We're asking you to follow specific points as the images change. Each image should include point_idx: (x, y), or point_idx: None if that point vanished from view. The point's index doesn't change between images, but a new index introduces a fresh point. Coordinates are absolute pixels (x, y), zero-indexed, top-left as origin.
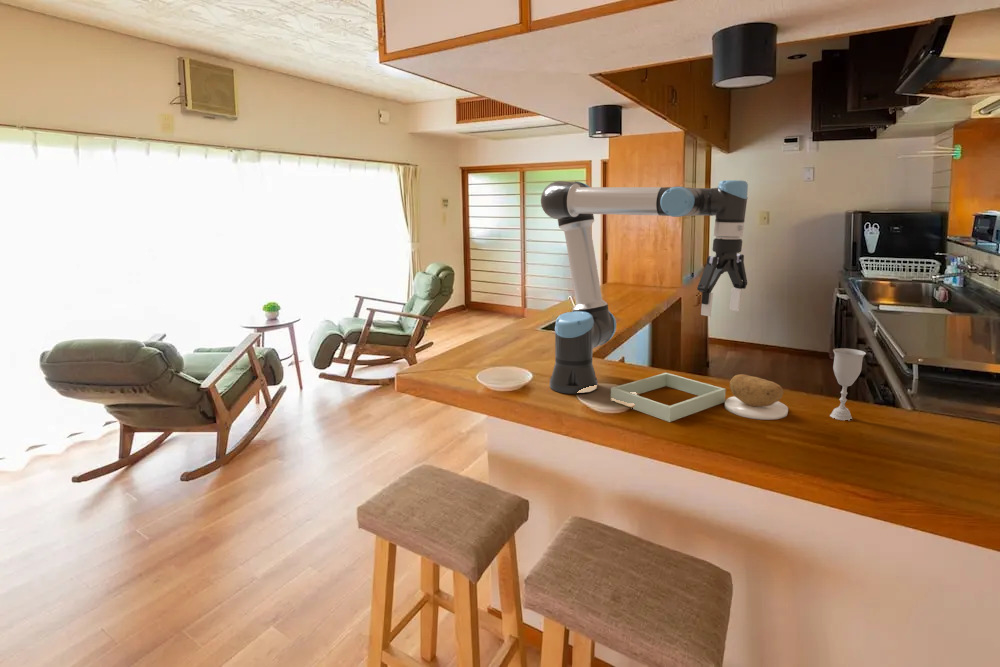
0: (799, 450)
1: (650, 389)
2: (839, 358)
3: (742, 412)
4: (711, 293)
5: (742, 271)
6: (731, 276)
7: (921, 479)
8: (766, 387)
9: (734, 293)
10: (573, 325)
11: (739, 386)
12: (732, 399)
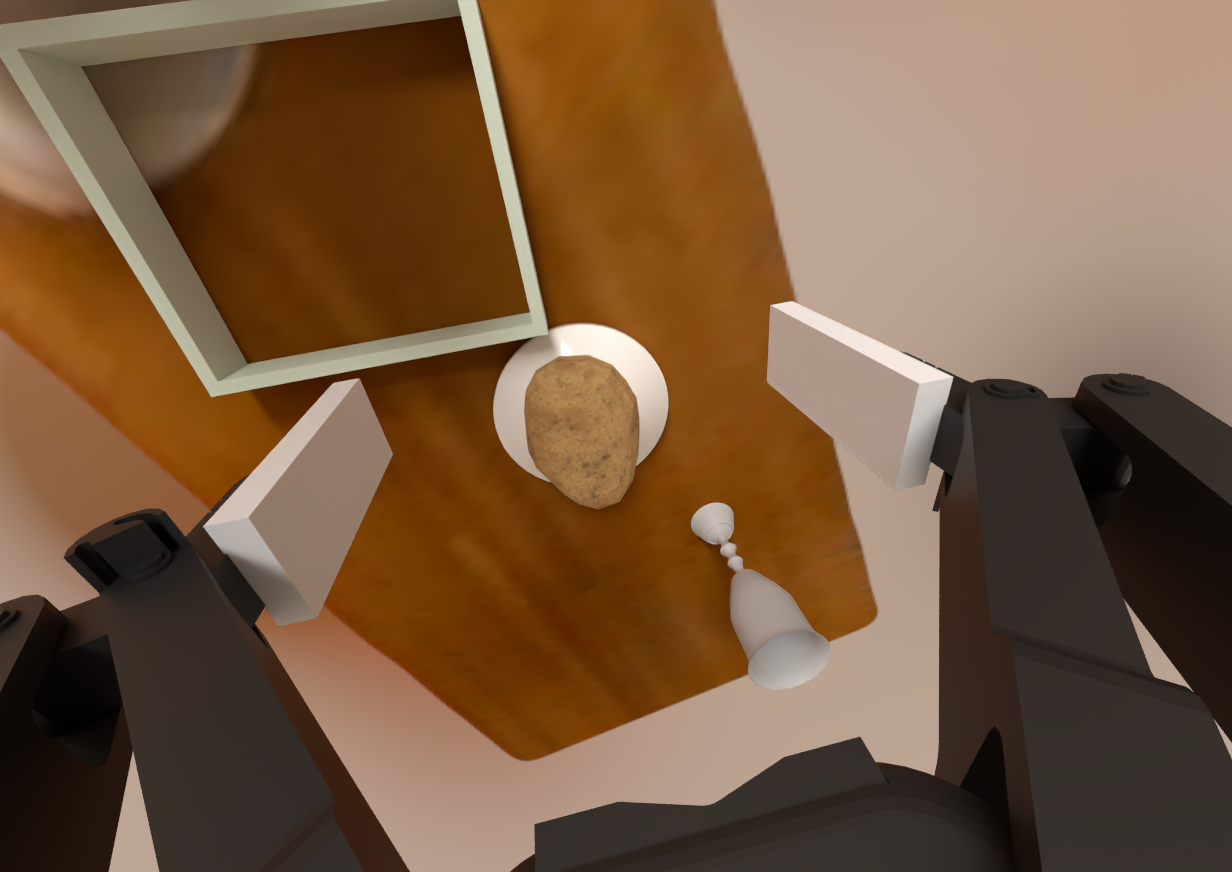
0: (464, 601)
1: (344, 29)
2: (746, 646)
3: (499, 438)
4: (283, 622)
5: (1196, 686)
6: (964, 565)
7: (552, 703)
8: (568, 495)
9: (864, 401)
10: None
11: (527, 424)
12: (560, 346)
